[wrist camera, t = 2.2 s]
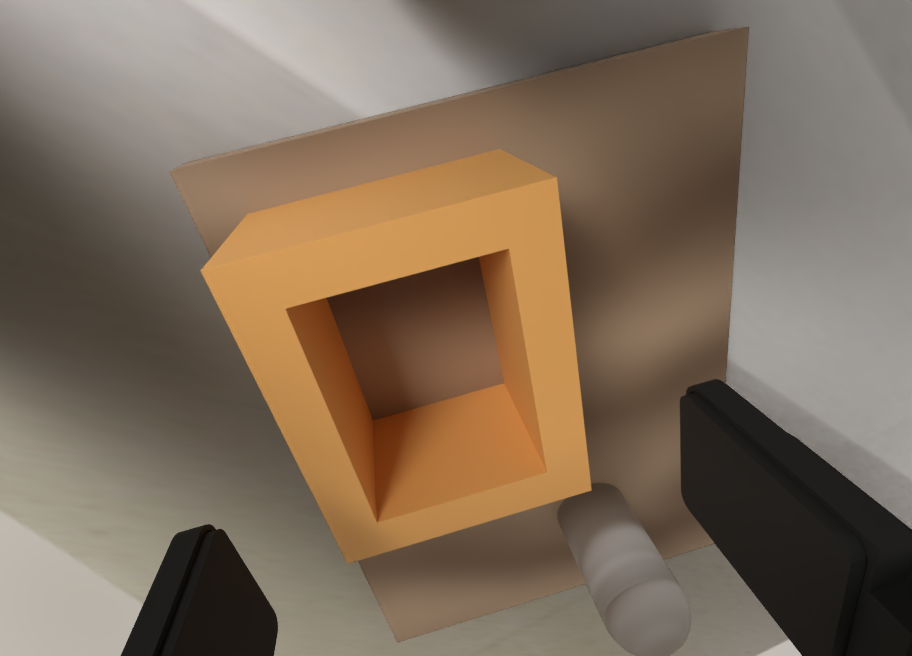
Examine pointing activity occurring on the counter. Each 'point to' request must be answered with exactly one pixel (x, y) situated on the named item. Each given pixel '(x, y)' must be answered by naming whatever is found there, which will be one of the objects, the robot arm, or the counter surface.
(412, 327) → the flat brown board
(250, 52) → the counter surface
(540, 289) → the orange open tray
